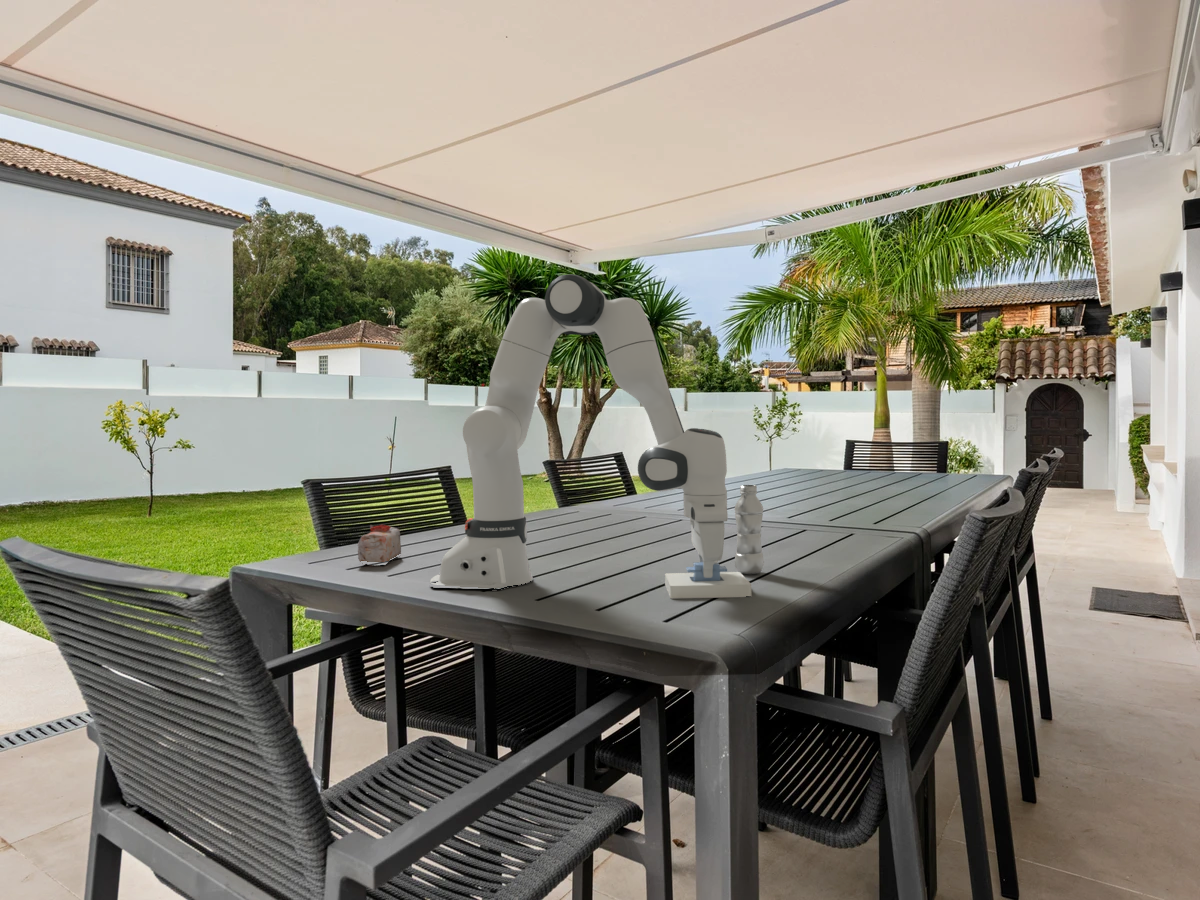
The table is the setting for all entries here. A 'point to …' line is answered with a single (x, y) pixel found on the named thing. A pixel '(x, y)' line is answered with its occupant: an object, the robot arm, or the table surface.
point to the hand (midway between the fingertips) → (706, 574)
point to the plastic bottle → (749, 531)
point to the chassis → (707, 586)
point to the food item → (379, 544)
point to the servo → (698, 571)
